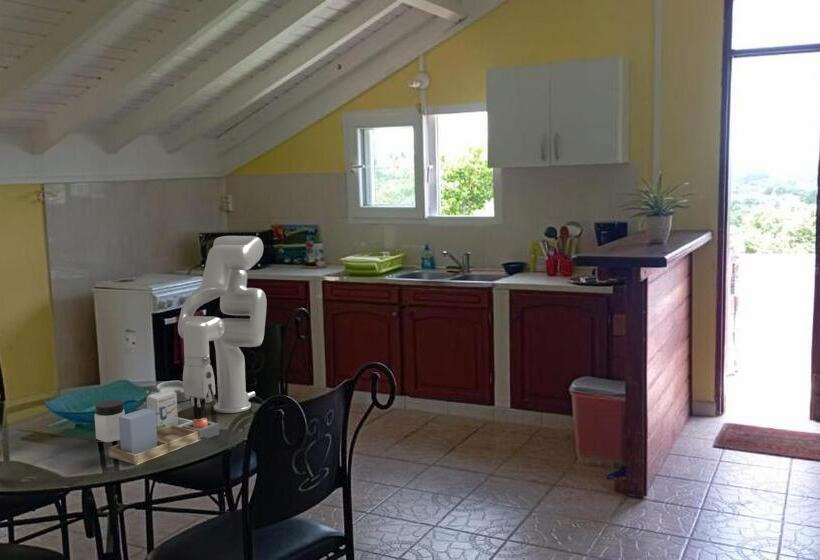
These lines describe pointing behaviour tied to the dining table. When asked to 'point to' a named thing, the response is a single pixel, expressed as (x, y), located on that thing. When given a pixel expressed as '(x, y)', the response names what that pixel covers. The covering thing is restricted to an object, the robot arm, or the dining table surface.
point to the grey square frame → (205, 429)
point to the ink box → (164, 408)
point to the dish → (173, 389)
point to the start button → (200, 423)
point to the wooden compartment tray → (158, 444)
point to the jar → (108, 420)
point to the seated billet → (138, 431)
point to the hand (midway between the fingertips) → (199, 418)
